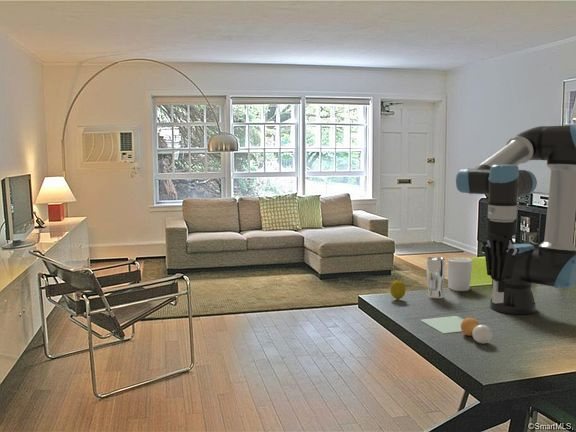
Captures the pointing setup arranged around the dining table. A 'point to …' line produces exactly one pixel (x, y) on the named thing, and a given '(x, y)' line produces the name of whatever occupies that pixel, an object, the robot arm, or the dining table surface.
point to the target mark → (445, 324)
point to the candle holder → (459, 273)
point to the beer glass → (435, 277)
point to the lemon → (398, 289)
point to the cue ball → (482, 334)
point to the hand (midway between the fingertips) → (497, 302)
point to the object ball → (468, 326)
